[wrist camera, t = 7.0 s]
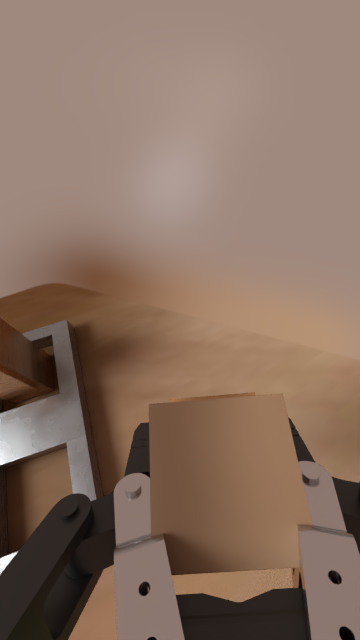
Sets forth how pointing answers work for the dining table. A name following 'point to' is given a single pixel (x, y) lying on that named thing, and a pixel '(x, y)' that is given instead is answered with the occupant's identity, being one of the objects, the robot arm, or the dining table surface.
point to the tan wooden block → (225, 483)
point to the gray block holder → (43, 411)
